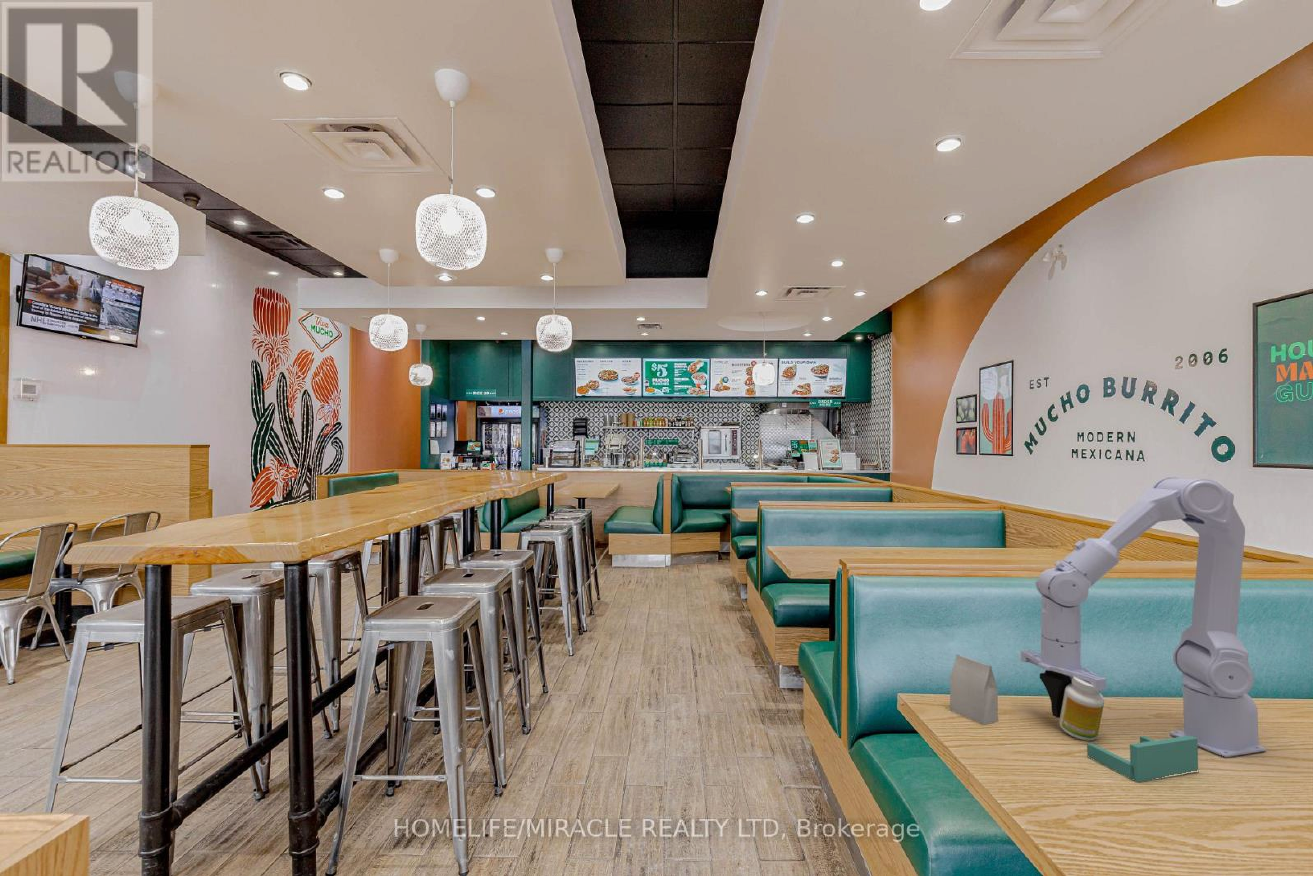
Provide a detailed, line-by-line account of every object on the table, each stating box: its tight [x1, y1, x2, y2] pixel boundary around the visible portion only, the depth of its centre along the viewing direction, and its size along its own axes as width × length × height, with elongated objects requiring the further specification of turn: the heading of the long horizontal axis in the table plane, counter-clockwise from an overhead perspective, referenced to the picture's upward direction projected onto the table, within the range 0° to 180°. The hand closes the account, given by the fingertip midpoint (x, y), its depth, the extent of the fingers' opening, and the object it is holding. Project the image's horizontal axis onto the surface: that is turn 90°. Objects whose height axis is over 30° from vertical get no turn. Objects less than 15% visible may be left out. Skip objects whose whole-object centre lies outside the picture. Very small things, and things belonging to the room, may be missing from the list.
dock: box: [1086, 735, 1199, 783], centre depth 89 cm, size 12×8×5 cm, turn 105°
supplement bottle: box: [1058, 677, 1105, 741], centre depth 97 cm, size 5×5×10 cm
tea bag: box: [949, 654, 999, 726], centre depth 105 cm, size 4×7×10 cm, turn 25°
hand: (1060, 716), depth 101 cm, fingers closed
